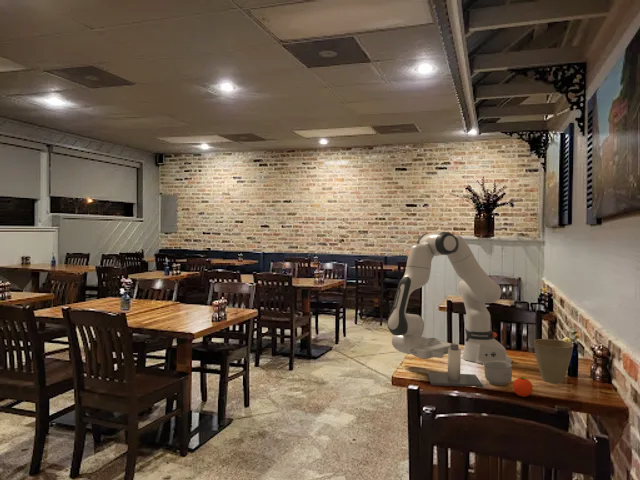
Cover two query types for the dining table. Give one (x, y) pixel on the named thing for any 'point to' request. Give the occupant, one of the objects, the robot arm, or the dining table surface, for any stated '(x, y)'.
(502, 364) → the teacup
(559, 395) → the dining table surface
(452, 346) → the pepper mill
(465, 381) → the slate board
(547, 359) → the plant pot
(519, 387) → the clementine
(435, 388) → the dining table surface
